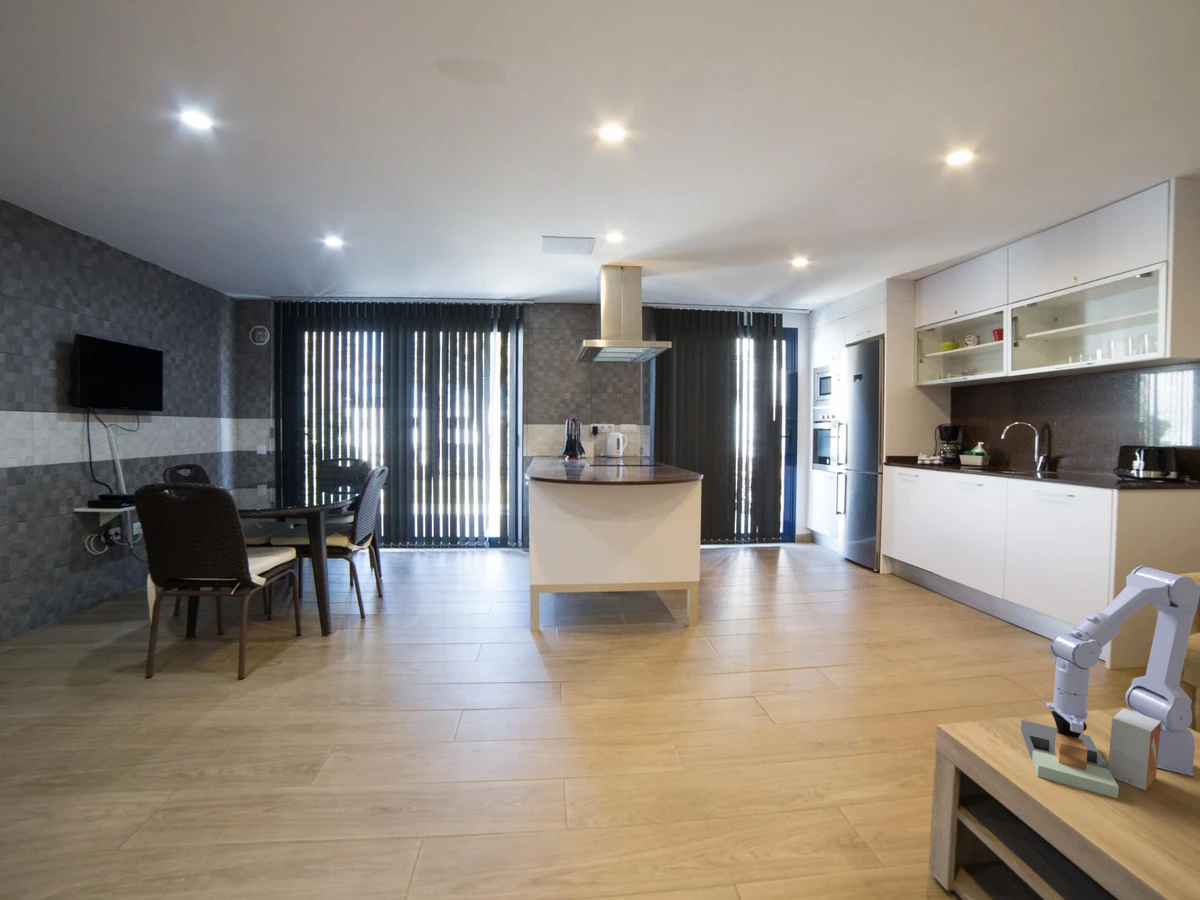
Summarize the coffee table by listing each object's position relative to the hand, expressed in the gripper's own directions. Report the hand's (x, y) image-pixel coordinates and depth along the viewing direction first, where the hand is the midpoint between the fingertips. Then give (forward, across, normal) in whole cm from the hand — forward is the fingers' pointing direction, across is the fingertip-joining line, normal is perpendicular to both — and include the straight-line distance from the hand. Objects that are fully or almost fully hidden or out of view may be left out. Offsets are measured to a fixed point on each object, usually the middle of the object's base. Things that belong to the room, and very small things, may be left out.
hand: (1066, 747), depth 124 cm
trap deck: (+3, -1, 0) cm, 3 cm away
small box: (+4, -1, +12) cm, 12 cm away
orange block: (+1, +4, 0) cm, 4 cm away
